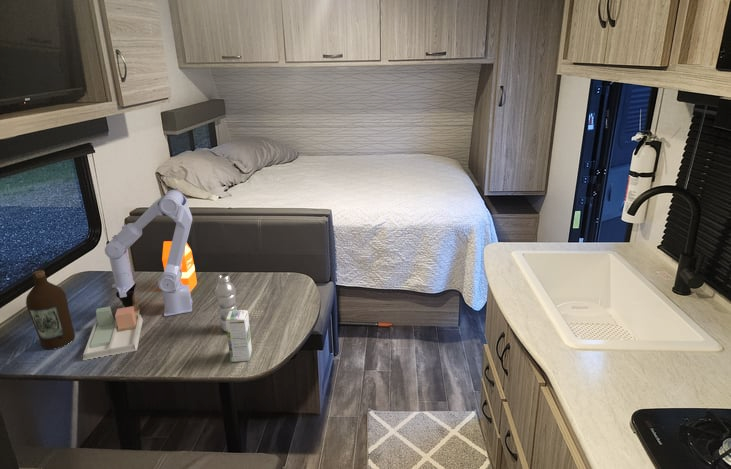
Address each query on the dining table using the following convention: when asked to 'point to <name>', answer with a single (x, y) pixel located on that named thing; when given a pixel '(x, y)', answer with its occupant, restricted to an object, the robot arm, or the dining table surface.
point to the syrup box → (239, 335)
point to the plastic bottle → (225, 297)
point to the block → (125, 317)
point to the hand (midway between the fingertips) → (130, 306)
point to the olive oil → (49, 312)
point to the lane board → (115, 342)
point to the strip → (103, 327)
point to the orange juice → (186, 267)
